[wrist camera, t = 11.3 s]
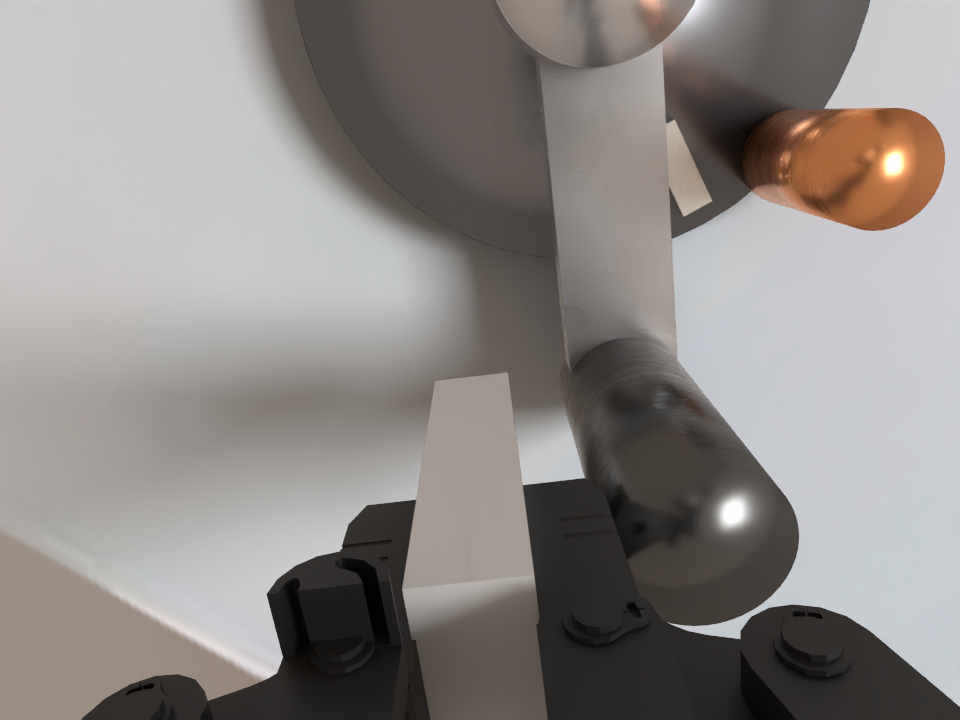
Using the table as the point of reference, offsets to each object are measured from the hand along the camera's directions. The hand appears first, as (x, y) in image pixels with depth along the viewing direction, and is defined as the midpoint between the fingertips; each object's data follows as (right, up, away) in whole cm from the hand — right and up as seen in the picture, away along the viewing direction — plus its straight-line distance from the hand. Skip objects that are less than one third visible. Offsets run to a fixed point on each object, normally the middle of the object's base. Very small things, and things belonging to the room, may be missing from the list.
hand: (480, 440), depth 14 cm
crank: (+3, +6, +1) cm, 6 cm away
